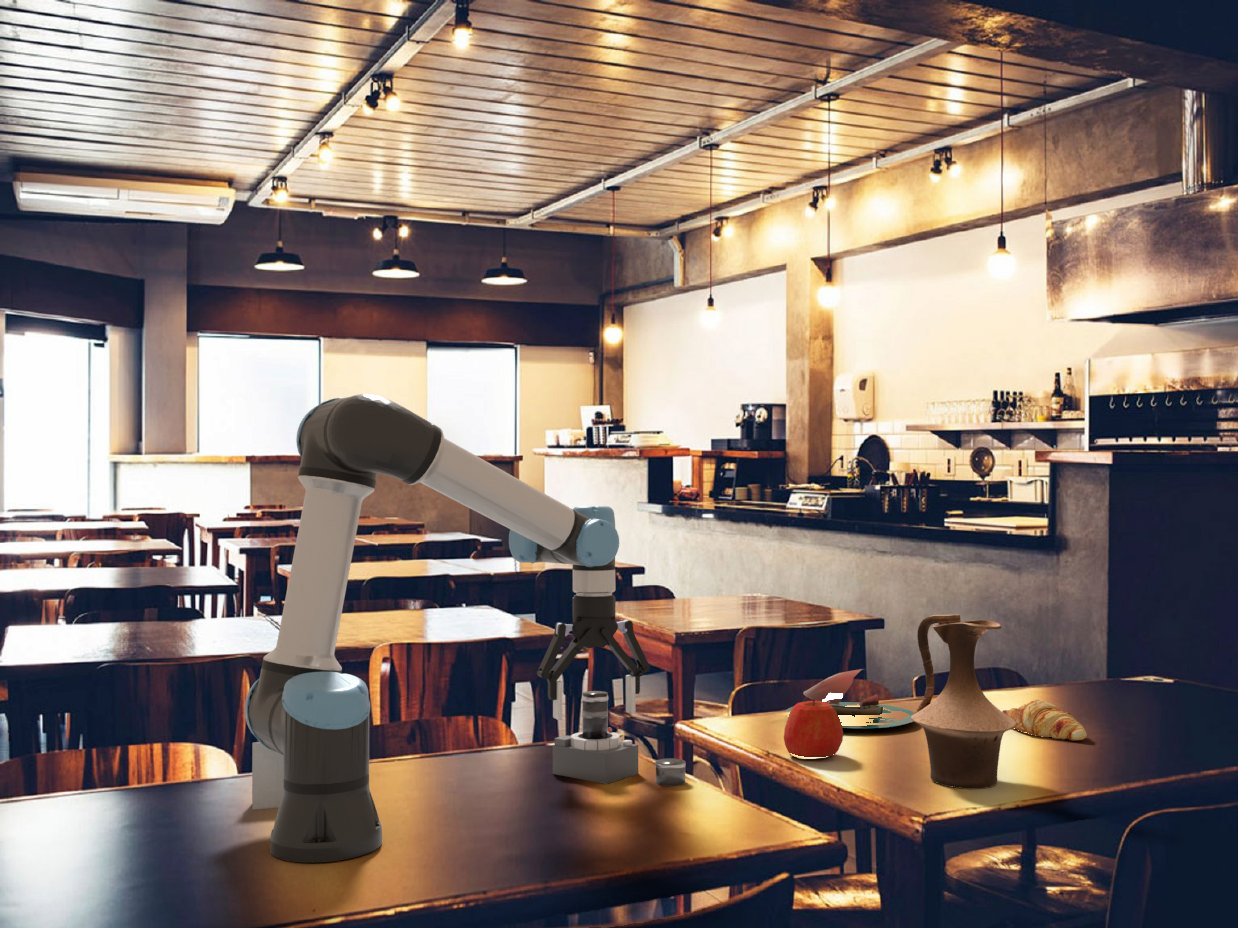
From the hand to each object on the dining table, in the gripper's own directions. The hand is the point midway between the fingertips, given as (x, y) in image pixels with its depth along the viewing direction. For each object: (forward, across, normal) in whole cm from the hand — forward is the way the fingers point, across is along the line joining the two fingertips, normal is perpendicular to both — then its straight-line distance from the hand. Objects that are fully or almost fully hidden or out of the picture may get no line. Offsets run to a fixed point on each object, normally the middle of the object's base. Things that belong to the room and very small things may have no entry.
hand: (594, 715), depth 204 cm
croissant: (+10, -94, +4) cm, 95 cm away
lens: (+5, 0, 0) cm, 5 cm away
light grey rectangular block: (+11, +54, -1) cm, 55 cm away
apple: (+10, -42, +4) cm, 43 cm away
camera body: (+10, 0, 0) cm, 10 cm away
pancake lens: (+10, -10, +11) cm, 18 cm away
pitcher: (+10, -55, +29) cm, 63 cm away
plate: (+10, -66, -22) cm, 70 cm away
